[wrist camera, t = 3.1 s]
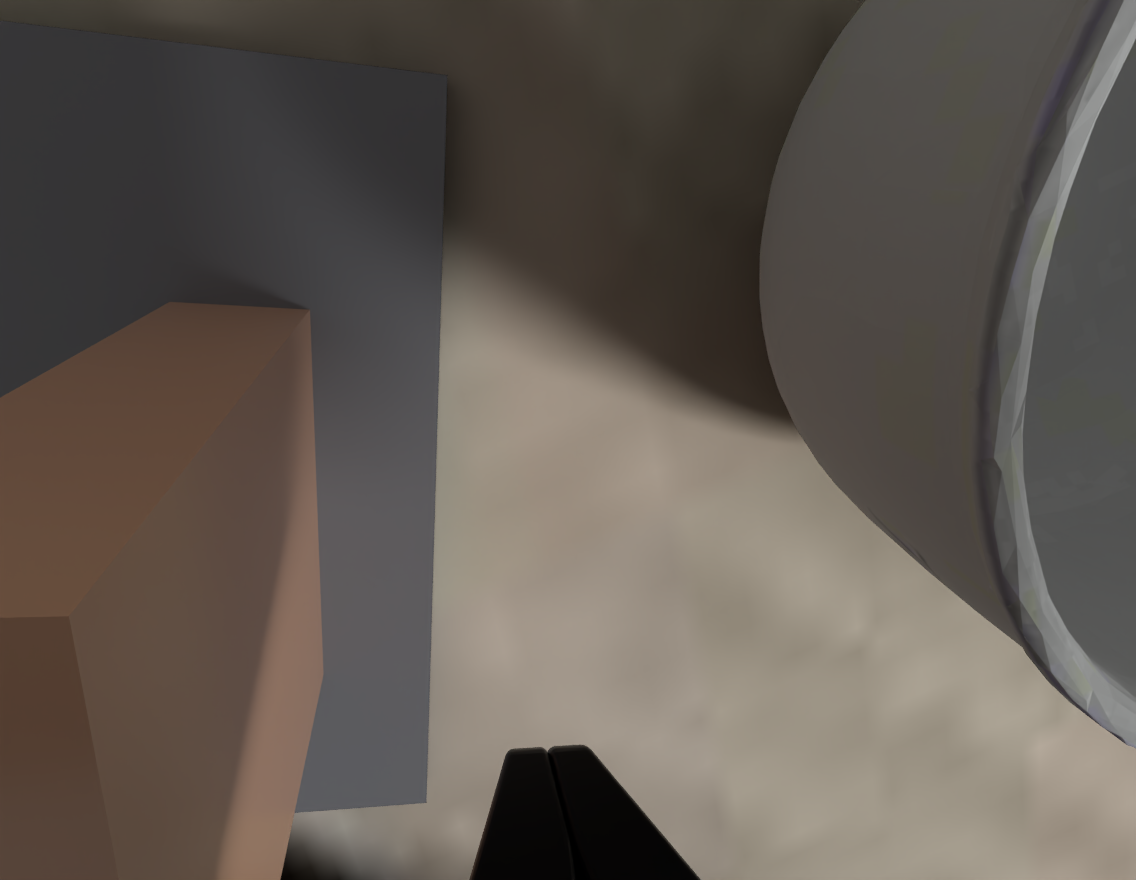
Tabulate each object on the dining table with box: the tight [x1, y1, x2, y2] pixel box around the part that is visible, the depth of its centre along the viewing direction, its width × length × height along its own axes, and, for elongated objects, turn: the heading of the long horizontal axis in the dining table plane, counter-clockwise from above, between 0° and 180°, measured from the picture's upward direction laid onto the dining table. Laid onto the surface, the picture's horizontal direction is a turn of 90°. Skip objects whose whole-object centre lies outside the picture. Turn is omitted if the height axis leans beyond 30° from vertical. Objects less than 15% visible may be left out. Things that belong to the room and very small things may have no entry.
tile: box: [0, 302, 323, 880], centre depth 8 cm, size 2×7×8 cm, turn 174°
